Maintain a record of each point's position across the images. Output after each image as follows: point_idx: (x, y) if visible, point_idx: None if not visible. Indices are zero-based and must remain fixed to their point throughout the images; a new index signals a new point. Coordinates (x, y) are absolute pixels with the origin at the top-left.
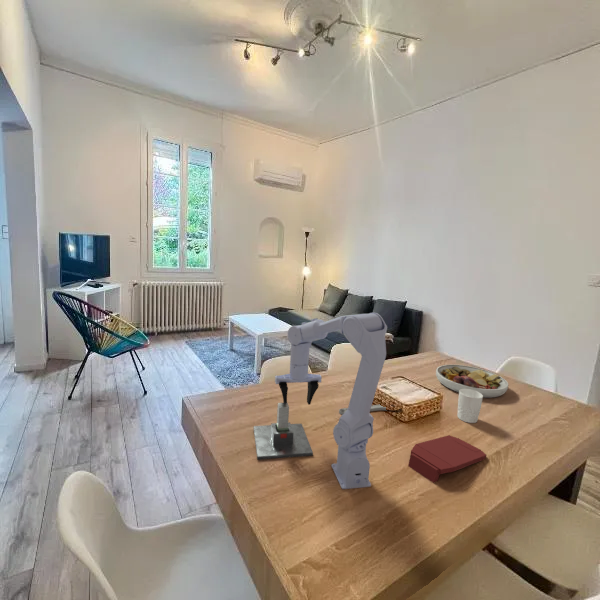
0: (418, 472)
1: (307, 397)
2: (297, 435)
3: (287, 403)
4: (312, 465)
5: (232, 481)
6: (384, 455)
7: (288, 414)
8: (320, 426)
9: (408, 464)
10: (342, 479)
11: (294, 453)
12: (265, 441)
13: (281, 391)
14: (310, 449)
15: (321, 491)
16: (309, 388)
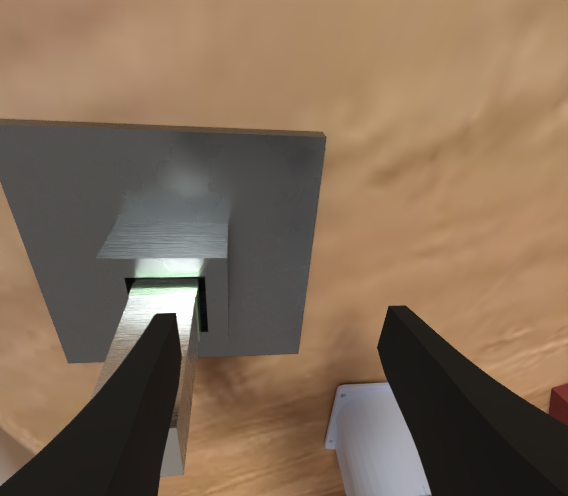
0: (550, 408)
1: (407, 342)
2: (266, 251)
3: (175, 438)
4: (278, 379)
5: (5, 422)
6: (532, 352)
7: (189, 415)
8: (431, 149)
9: (555, 392)
10: (338, 437)
11: (224, 355)
12: (91, 282)
13: (82, 417)
14: (295, 339)
15: (271, 445)
16: (461, 490)
